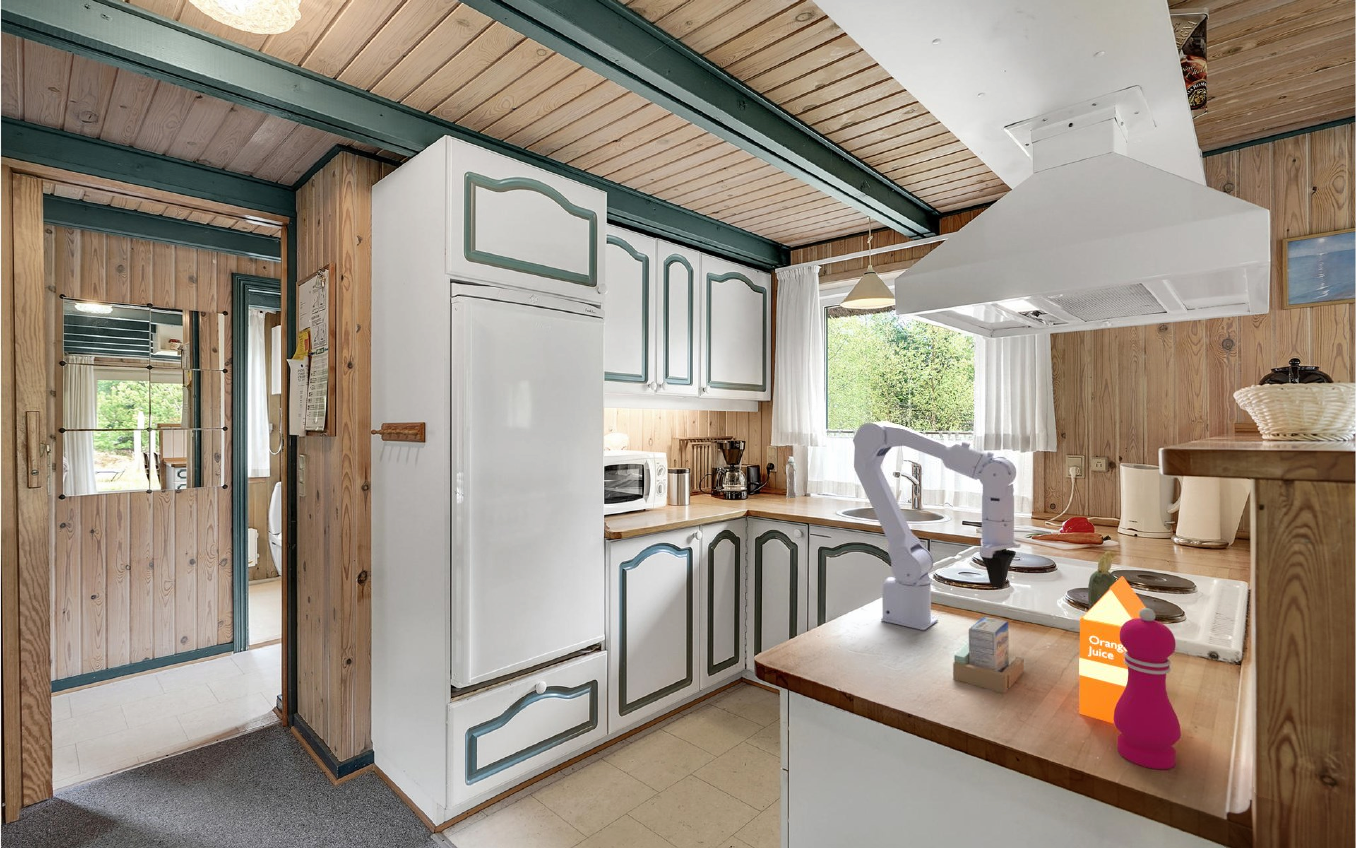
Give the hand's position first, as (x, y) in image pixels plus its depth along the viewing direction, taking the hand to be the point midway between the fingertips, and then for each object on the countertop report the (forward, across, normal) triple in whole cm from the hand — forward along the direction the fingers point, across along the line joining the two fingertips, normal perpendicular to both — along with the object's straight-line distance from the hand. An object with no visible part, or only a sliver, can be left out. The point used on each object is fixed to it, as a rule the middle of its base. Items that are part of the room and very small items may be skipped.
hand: (997, 586), depth 127 cm
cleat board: (+10, -14, -4) cm, 18 cm away
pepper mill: (+10, -32, -28) cm, 44 cm away
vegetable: (+10, +2, -18) cm, 20 cm away
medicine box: (+11, -18, -4) cm, 21 cm away
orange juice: (+10, -20, -23) cm, 32 cm away
